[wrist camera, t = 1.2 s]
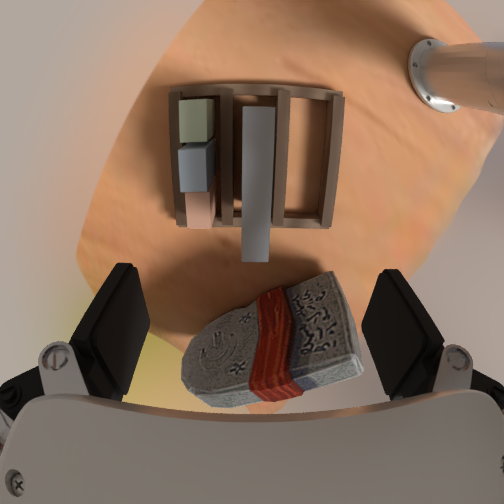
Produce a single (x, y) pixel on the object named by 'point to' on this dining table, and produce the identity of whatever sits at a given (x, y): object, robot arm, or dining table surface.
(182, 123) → the sage offcut board
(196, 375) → the decorative stone tablet
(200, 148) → the slate offcut board
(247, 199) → the charcoal panel
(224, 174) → the walnut rack
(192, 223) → the terracotta offcut board
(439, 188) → the dining table surface
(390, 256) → the dining table surface
